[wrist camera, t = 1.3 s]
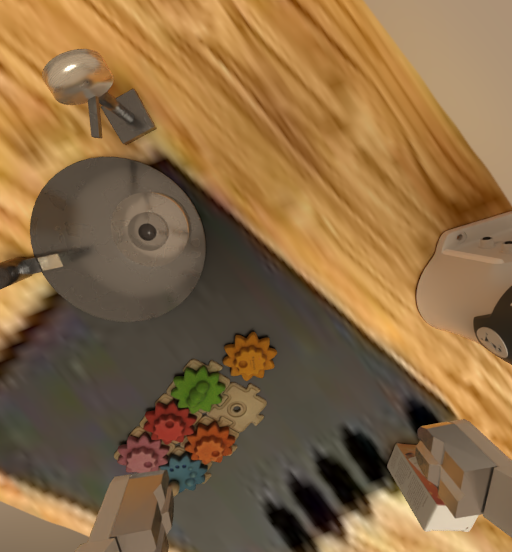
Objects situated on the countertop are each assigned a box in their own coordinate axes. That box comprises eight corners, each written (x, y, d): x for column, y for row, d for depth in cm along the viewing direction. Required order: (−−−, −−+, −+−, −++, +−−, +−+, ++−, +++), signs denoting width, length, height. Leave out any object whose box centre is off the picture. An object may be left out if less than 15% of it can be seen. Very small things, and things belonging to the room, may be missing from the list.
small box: (434, 444, 51) (485, 506, 41) (423, 468, 52) (470, 533, 42) (394, 442, 50) (437, 505, 40) (385, 466, 51) (424, 532, 41)
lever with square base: (137, 91, 30) (72, 14, 17) (163, 137, 32) (121, 100, 19) (103, 110, 31) (12, 49, 18) (130, 156, 32) (65, 130, 19)
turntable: (149, 125, 31) (133, 111, 26) (233, 275, 37) (235, 289, 32) (-27, 222, 32) (-78, 228, 27) (83, 353, 38) (59, 379, 33)
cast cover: (168, 179, 32) (159, 177, 28) (203, 240, 34) (200, 247, 30) (108, 212, 32) (89, 215, 28) (147, 270, 35) (136, 281, 30)
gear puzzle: (227, 306, 39) (228, 319, 36) (310, 362, 44) (318, 379, 40) (110, 452, 44) (99, 477, 41) (194, 490, 49) (192, 516, 45)
